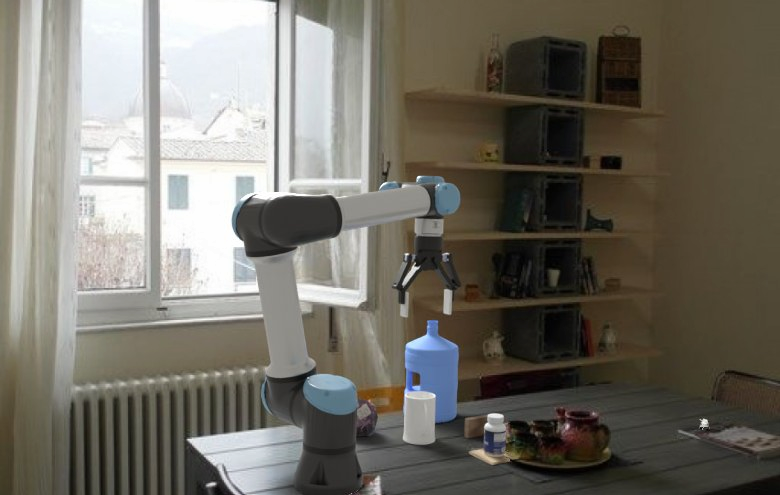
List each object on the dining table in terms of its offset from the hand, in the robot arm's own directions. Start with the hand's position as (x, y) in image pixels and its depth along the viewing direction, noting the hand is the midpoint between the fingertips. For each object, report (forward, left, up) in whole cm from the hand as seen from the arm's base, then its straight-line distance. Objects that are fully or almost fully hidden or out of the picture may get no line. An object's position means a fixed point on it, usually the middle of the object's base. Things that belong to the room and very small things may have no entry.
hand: (426, 315), depth 202 cm
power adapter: (+75, -31, -33) cm, 88 cm away
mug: (-3, -3, -33) cm, 33 cm away
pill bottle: (+7, -21, -32) cm, 39 cm away
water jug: (+13, +15, -33) cm, 38 cm away
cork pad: (+7, -21, -33) cm, 40 cm away
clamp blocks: (+14, -10, -33) cm, 37 cm away
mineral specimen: (-14, +10, -33) cm, 37 cm away
